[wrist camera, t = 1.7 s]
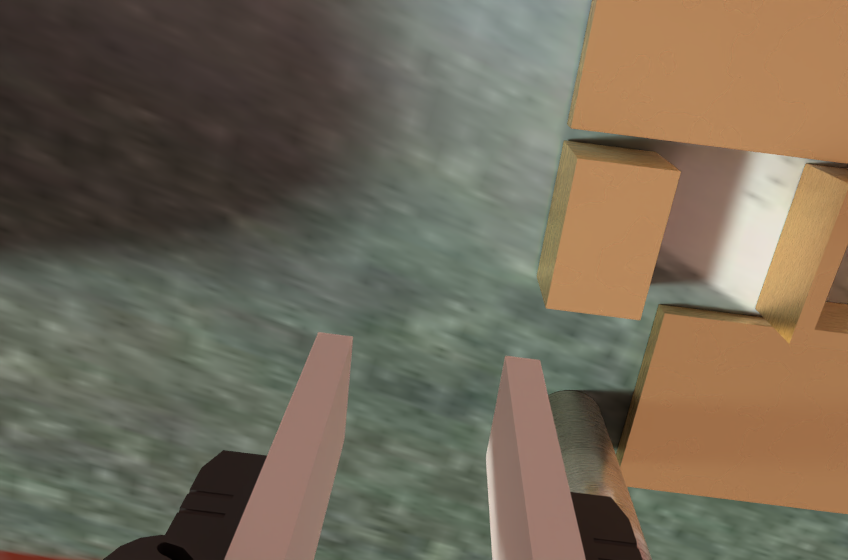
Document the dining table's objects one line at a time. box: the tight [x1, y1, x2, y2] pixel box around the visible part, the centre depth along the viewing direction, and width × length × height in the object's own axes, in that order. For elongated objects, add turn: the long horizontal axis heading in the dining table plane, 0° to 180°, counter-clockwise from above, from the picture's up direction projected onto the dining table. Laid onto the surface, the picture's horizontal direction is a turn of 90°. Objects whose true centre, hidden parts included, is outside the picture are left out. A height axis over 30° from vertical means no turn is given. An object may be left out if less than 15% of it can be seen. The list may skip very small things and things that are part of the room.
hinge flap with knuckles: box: [537, 0, 848, 320], centre depth 26 cm, size 16×17×4 cm
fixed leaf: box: [616, 164, 848, 514], centre depth 31 cm, size 16×17×4 cm
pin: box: [548, 390, 652, 560], centre depth 28 cm, size 4×4×14 cm
